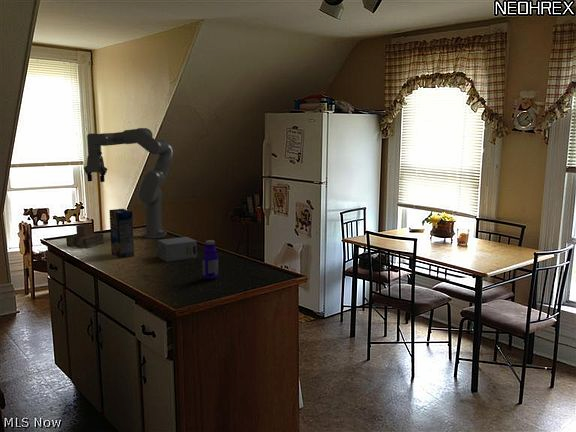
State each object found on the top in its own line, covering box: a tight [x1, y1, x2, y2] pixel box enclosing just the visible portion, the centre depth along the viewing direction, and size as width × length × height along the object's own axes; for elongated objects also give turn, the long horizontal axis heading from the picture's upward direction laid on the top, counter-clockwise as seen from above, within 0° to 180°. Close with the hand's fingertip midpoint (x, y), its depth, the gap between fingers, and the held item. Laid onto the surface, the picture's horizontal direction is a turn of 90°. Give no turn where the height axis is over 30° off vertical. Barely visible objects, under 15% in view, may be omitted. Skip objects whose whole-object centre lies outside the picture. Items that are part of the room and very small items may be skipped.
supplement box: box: [156, 236, 198, 263], centre depth 273 cm, size 17×13×9 cm
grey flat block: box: [65, 232, 105, 249], centre depth 299 cm, size 14×14×6 cm
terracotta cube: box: [75, 223, 94, 237], centre depth 298 cm, size 6×6×6 cm
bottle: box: [201, 239, 219, 280], centre depth 235 cm, size 7×6×17 cm
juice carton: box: [108, 208, 135, 259], centre depth 275 cm, size 12×8×24 cm, turn 40°
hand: (96, 181), depth 323 cm, fingers open, 9 cm apart
